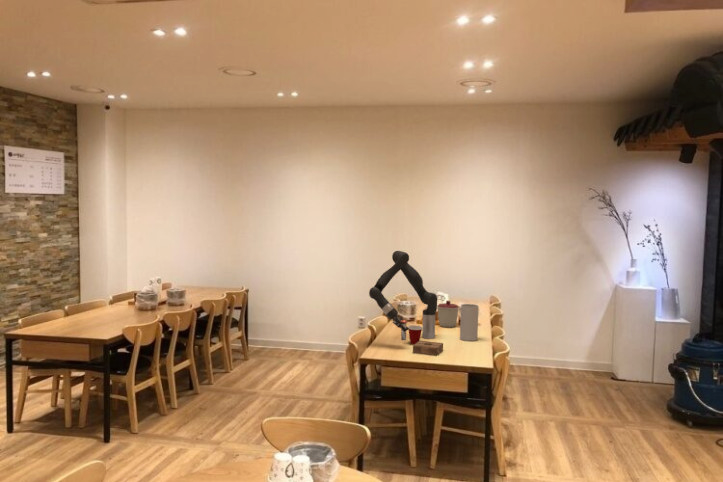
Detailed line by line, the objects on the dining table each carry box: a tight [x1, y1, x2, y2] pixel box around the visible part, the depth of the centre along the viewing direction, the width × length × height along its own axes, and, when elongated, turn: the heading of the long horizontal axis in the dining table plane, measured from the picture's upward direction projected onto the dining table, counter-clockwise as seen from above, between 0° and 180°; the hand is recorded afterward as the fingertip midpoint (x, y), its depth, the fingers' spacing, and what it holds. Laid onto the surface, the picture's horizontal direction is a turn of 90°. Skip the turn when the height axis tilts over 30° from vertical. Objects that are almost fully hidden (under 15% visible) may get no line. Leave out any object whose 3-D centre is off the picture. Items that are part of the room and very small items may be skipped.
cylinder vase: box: [459, 303, 479, 342], centre depth 417 cm, size 12×12×25 cm
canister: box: [437, 300, 460, 328], centre depth 464 cm, size 18×18×21 cm
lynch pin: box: [400, 319, 408, 341], centre depth 387 cm, size 4×4×13 cm
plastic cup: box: [407, 324, 423, 345], centre depth 400 cm, size 11×11×12 cm
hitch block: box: [412, 340, 444, 357], centre depth 378 cm, size 16×16×5 cm
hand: (406, 330), depth 386 cm, fingers closed on lynch pin, 3 cm apart
